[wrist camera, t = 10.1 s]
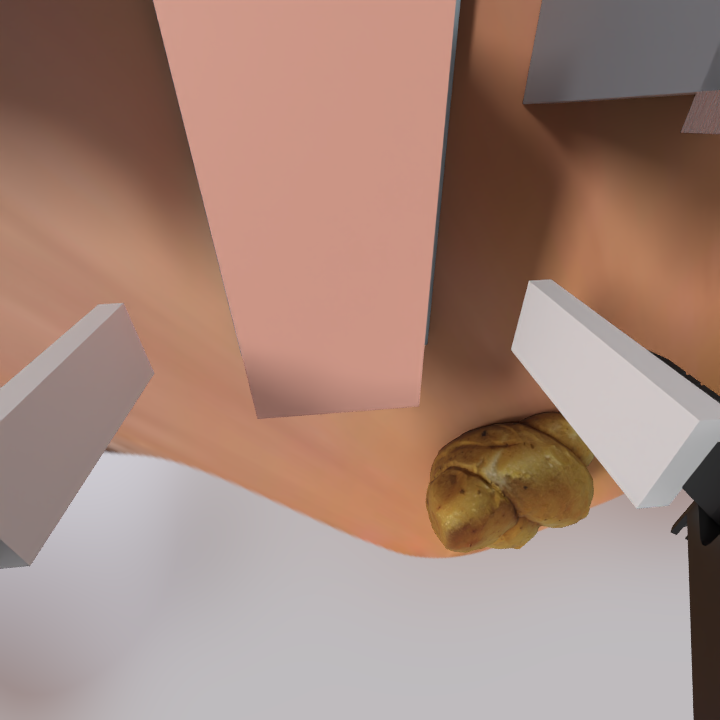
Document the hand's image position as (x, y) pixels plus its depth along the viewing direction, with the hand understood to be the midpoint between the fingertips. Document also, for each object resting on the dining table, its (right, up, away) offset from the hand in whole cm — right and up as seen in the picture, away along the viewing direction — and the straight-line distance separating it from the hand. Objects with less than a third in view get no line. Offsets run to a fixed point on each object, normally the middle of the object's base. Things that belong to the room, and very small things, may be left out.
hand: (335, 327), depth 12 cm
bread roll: (+12, -8, +17) cm, 22 cm away
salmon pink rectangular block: (-1, +7, +4) cm, 8 cm away
